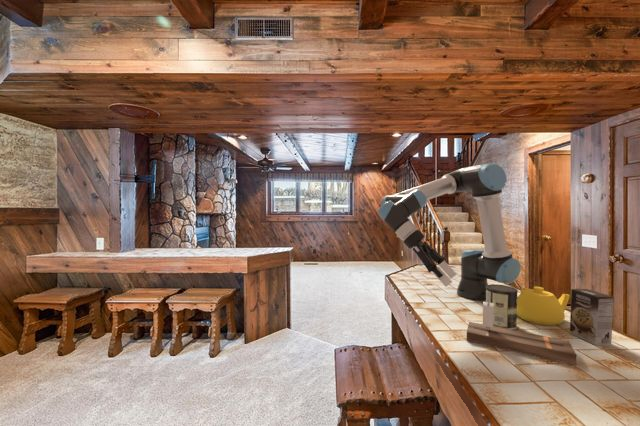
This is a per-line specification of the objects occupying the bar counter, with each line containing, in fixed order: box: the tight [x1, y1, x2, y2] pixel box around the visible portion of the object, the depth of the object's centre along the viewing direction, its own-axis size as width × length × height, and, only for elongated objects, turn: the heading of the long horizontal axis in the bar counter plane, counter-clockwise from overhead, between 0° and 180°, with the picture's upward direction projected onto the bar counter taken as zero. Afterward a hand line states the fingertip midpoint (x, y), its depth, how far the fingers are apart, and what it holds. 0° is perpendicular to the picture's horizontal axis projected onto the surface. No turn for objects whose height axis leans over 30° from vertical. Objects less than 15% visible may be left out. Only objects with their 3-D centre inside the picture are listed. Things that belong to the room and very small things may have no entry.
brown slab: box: [466, 321, 577, 366], centre depth 94 cm, size 10×28×3 cm, turn 59°
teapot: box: [517, 286, 571, 326], centre depth 118 cm, size 20×19×13 cm
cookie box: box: [569, 288, 615, 346], centre depth 99 cm, size 9×6×16 cm
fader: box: [482, 301, 494, 330], centre depth 98 cm, size 4×3×9 cm
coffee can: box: [485, 284, 519, 330], centre depth 111 cm, size 10×10×14 cm
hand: (451, 280), depth 104 cm, fingers open, 13 cm apart
